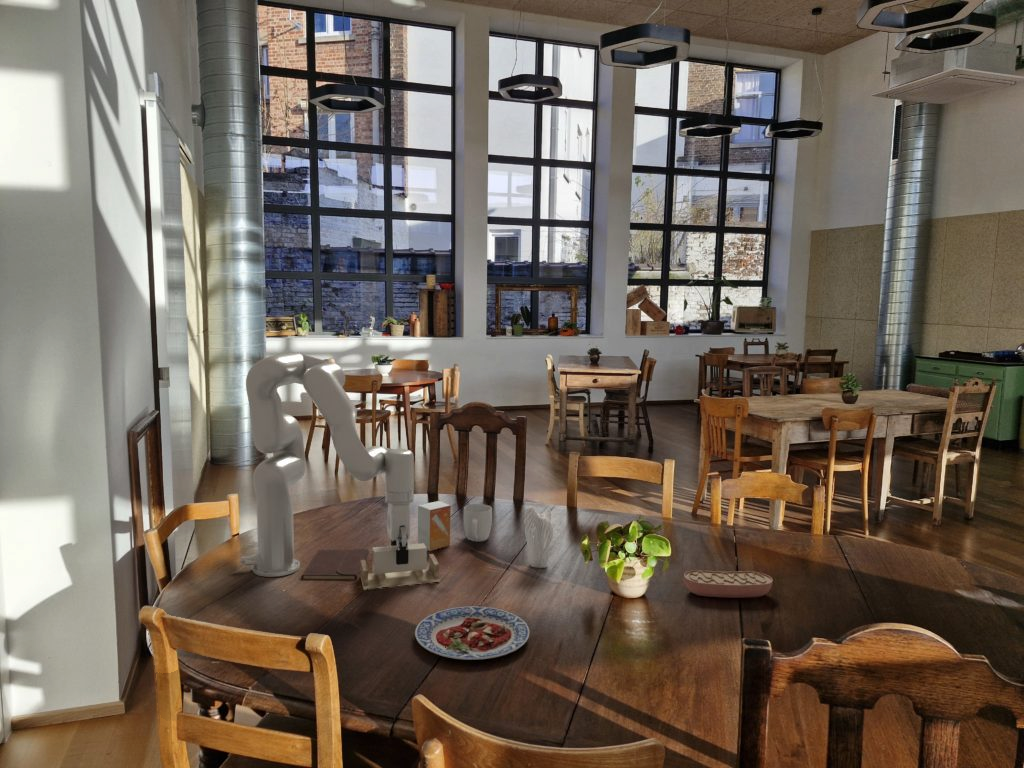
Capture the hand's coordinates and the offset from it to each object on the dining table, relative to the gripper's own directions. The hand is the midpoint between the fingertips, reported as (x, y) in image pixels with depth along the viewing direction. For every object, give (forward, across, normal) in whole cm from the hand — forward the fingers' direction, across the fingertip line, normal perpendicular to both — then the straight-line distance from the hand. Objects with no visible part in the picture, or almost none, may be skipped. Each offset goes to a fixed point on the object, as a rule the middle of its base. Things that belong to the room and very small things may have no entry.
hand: (399, 557), depth 201 cm
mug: (+6, -26, +28) cm, 39 cm away
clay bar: (+3, 0, 0) cm, 3 cm away
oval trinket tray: (+7, +31, +82) cm, 88 cm away
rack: (+6, 0, 0) cm, 6 cm away
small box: (+6, -24, +14) cm, 29 cm away
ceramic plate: (+7, +38, +11) cm, 40 cm away
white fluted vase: (+6, -1, +40) cm, 41 cm away
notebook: (+7, -15, -16) cm, 23 cm away
